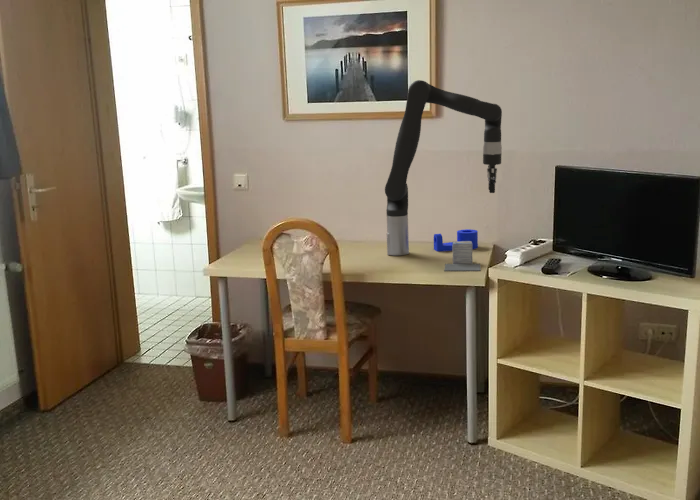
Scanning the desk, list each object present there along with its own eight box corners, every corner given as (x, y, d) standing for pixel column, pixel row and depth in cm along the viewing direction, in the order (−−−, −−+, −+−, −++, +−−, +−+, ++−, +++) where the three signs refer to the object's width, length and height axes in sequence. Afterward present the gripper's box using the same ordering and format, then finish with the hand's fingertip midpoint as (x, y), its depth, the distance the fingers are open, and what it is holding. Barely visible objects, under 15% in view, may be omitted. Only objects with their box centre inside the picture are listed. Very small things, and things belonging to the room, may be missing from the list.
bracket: (473, 245, 326) (473, 228, 325) (480, 249, 318) (480, 232, 316) (432, 249, 322) (431, 232, 321) (438, 253, 314) (438, 235, 312)
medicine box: (471, 261, 294) (471, 240, 292) (472, 264, 290) (472, 243, 288) (452, 262, 295) (452, 241, 293) (453, 264, 290) (452, 243, 289)
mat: (444, 271, 280) (444, 270, 280) (445, 264, 290) (445, 263, 290) (480, 271, 278) (480, 270, 277) (480, 264, 288) (480, 263, 288)
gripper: (482, 151, 305) (481, 189, 308) (483, 154, 291) (483, 193, 295) (500, 151, 304) (499, 189, 307) (502, 154, 290) (501, 193, 293)
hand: (491, 191), depth 301 cm, fingers open, 8 cm apart
